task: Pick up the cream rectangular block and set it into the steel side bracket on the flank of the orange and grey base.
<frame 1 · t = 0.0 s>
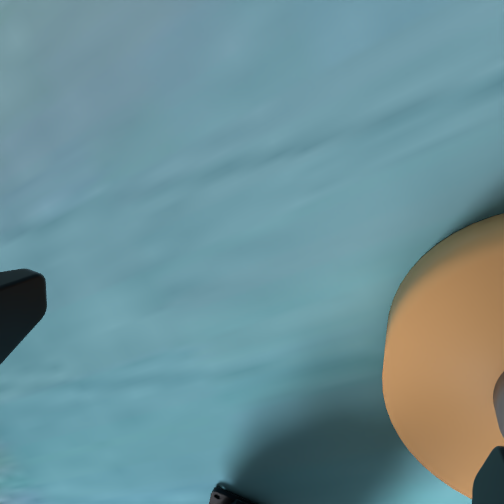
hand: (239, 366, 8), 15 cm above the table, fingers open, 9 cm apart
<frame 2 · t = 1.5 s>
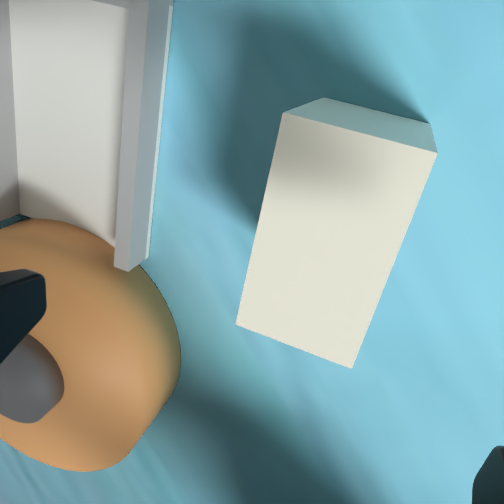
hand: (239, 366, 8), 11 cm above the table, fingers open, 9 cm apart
orange and grey base: (76, 327, 26), on the table
cream rectangular block: (348, 197, 18), on the table
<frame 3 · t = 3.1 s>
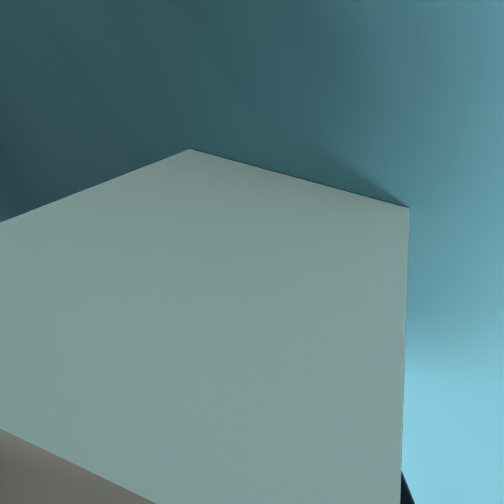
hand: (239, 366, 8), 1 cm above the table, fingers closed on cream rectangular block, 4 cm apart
cream rectangular block: (257, 335, 9), on the table, touching gripper
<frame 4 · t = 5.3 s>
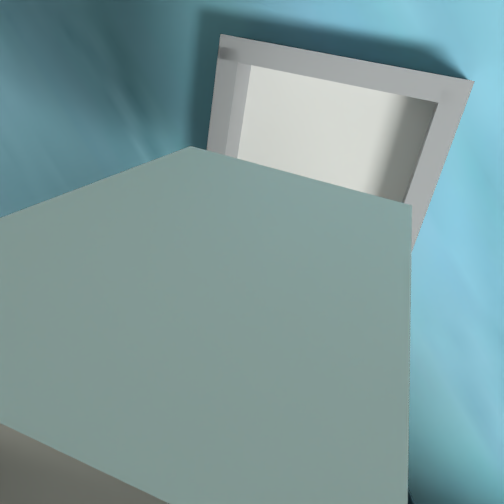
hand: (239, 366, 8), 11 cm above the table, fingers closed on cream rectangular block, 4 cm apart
orange and grey base: (260, 414, 24), on the table
cream rectangular block: (258, 334, 9), point 10 cm above the table, touching gripper
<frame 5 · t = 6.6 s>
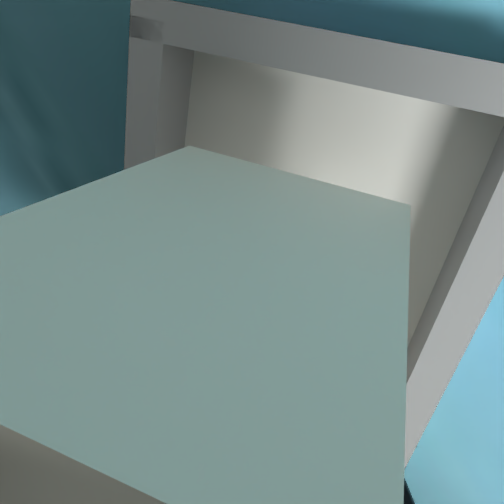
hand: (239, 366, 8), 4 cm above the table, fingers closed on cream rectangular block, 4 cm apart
cream rectangular block: (257, 333, 9), point 3 cm above the table, touching gripper
when the fingers open (3 cm above the table, at t = 7.6 s): cream rectangular block drops 2 cm, resting on orange and grey base.
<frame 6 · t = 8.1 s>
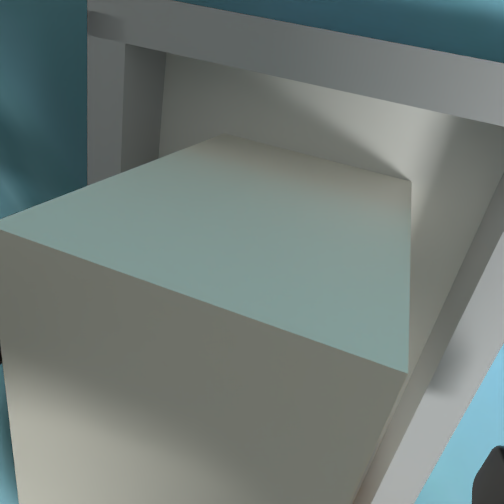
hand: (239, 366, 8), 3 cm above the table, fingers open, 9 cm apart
cream rectangular block: (279, 297, 10), resting on orange and grey base
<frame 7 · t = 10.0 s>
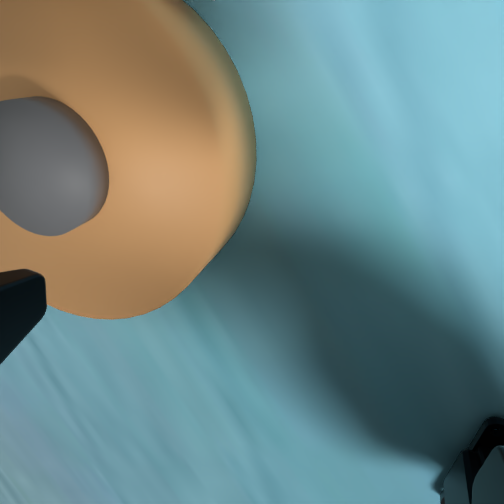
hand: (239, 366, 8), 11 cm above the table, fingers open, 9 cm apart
orange and grey base: (113, 144, 20), on the table
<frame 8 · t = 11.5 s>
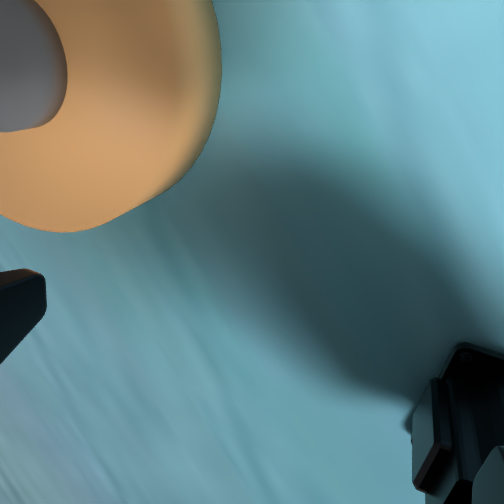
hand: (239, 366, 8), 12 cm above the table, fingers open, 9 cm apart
orange and grey base: (82, 61, 20), on the table
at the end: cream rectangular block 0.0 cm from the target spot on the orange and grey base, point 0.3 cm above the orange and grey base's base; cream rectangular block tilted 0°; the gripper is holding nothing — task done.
